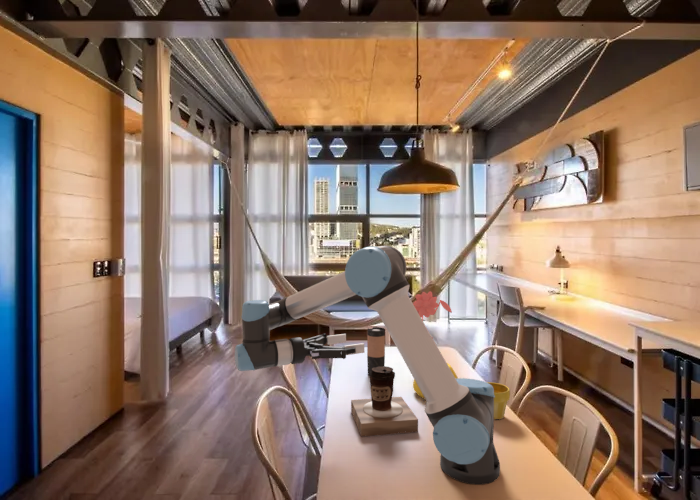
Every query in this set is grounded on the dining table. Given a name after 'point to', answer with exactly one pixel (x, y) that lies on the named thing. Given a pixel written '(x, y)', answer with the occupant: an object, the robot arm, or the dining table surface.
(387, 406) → the coffee cup
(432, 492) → the dining table surface
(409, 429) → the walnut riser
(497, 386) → the plant pot
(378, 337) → the travel mug
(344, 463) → the dining table surface
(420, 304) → the figurine
